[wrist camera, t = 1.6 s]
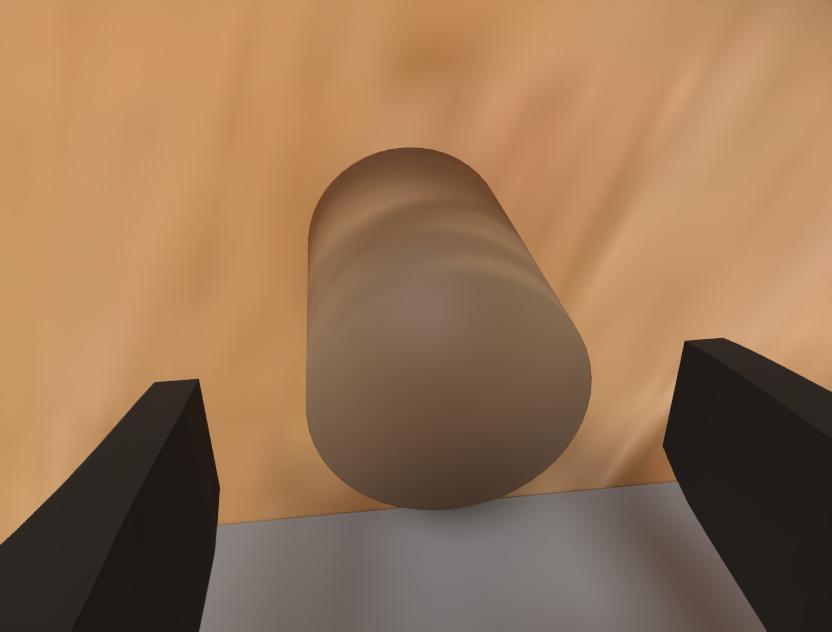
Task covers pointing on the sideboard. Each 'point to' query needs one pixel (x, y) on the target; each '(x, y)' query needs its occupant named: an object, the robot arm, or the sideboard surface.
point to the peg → (433, 338)
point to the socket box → (481, 569)
